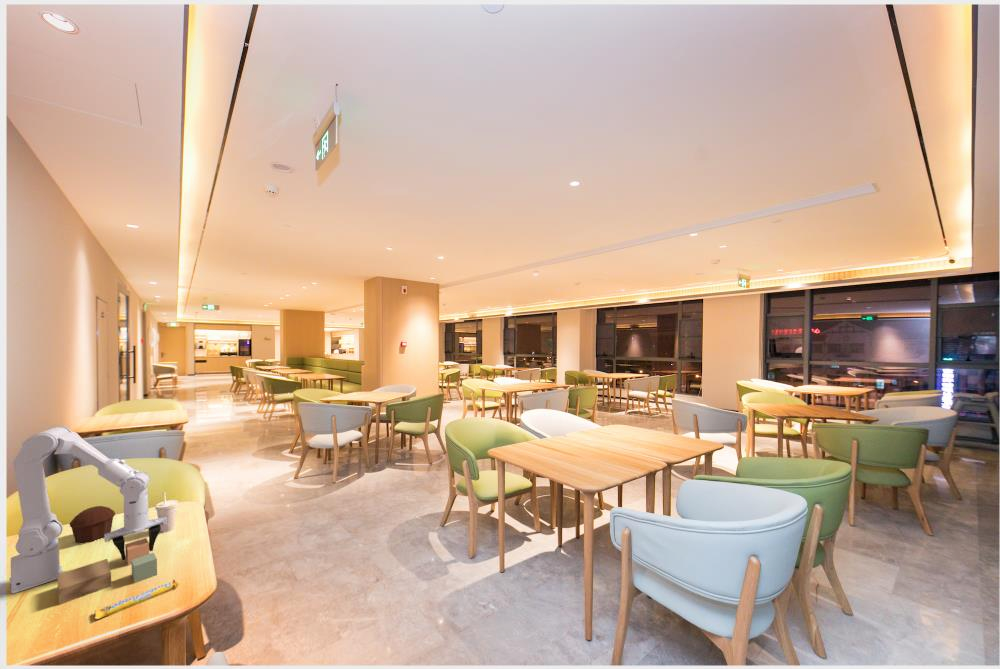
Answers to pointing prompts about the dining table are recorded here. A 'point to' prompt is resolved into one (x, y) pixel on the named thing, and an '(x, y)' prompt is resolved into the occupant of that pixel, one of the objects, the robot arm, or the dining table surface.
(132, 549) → the terracotta cube
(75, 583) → the walnut block
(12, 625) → the dining table surface
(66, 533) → the dining table surface
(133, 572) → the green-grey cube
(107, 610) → the candy bar
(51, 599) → the dining table surface
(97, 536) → the muffin
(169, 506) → the smoothie
